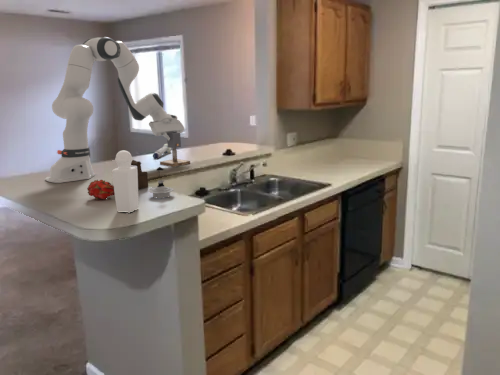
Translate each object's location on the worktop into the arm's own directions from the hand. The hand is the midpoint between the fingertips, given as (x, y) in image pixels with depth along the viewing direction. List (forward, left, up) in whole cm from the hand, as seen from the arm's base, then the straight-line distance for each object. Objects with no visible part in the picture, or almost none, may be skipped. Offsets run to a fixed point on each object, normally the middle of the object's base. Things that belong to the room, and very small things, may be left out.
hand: (174, 139), depth 243 cm
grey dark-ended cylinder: (+15, +31, -15) cm, 38 cm away
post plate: (0, +1, -14) cm, 14 cm away
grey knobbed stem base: (-51, -52, -14) cm, 75 cm away
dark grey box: (0, +1, -5) cm, 5 cm away
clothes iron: (-48, -28, -14) cm, 58 cm away
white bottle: (-72, -59, -14) cm, 94 cm away
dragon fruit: (-68, -36, -14) cm, 79 cm away
